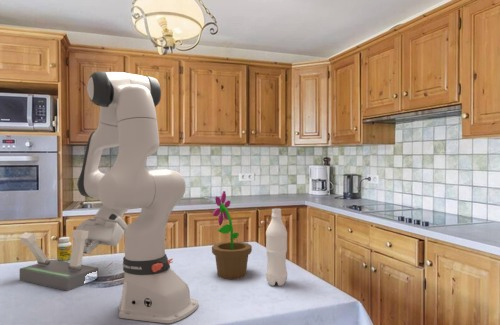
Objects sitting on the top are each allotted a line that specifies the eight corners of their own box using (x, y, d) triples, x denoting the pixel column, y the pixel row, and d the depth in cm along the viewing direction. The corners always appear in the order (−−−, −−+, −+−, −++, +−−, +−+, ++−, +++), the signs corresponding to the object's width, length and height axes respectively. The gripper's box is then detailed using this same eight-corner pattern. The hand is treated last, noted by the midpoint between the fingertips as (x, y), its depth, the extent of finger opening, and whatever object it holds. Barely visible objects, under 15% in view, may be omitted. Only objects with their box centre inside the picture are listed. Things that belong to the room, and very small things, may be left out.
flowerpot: (224, 266, 138) (224, 189, 138) (258, 271, 132) (257, 190, 132) (204, 277, 125) (203, 192, 125) (240, 283, 119) (240, 194, 119)
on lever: (51, 261, 128) (33, 233, 121) (45, 267, 126) (27, 238, 119) (43, 260, 129) (25, 232, 123) (37, 265, 127) (18, 237, 121)
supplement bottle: (71, 258, 150) (70, 235, 150) (72, 261, 145) (72, 238, 145) (56, 260, 147) (56, 237, 147) (57, 263, 142) (57, 239, 142)
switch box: (98, 279, 124) (97, 266, 124) (67, 291, 113) (67, 277, 113) (51, 270, 134) (51, 258, 134) (19, 280, 123) (19, 267, 123)
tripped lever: (82, 270, 120) (88, 231, 123) (75, 271, 118) (82, 230, 120) (73, 269, 122) (79, 230, 125) (66, 269, 120) (73, 229, 122)
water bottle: (291, 283, 120) (291, 209, 119) (278, 289, 114) (278, 211, 114) (275, 278, 125) (274, 207, 124) (261, 283, 119) (261, 209, 119)
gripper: (81, 213, 135) (58, 244, 126) (122, 216, 126) (100, 251, 117) (91, 223, 139) (69, 254, 130) (131, 227, 130) (111, 261, 122)
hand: (84, 252), depth 124 cm, fingers closed
